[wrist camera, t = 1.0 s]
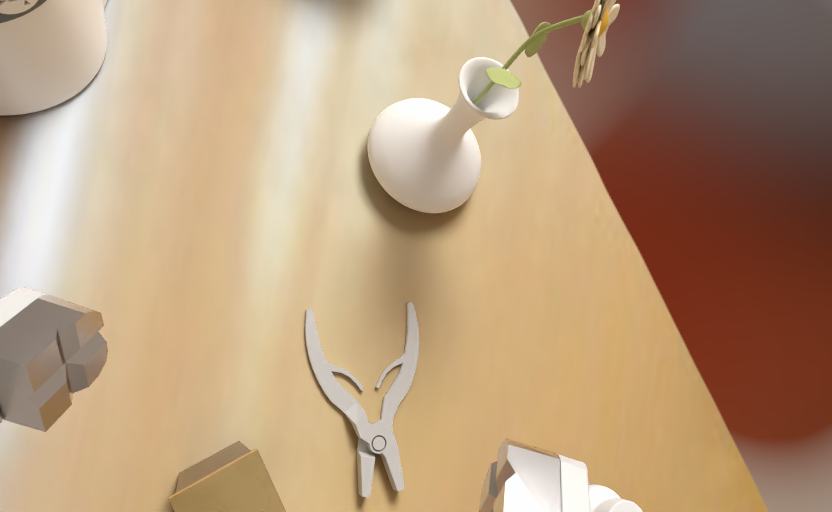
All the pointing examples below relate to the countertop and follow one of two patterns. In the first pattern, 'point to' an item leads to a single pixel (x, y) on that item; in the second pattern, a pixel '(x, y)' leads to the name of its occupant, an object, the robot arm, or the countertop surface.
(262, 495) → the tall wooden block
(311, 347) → the pliers
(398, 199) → the flower in vase
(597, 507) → the pill bottle
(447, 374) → the countertop surface
